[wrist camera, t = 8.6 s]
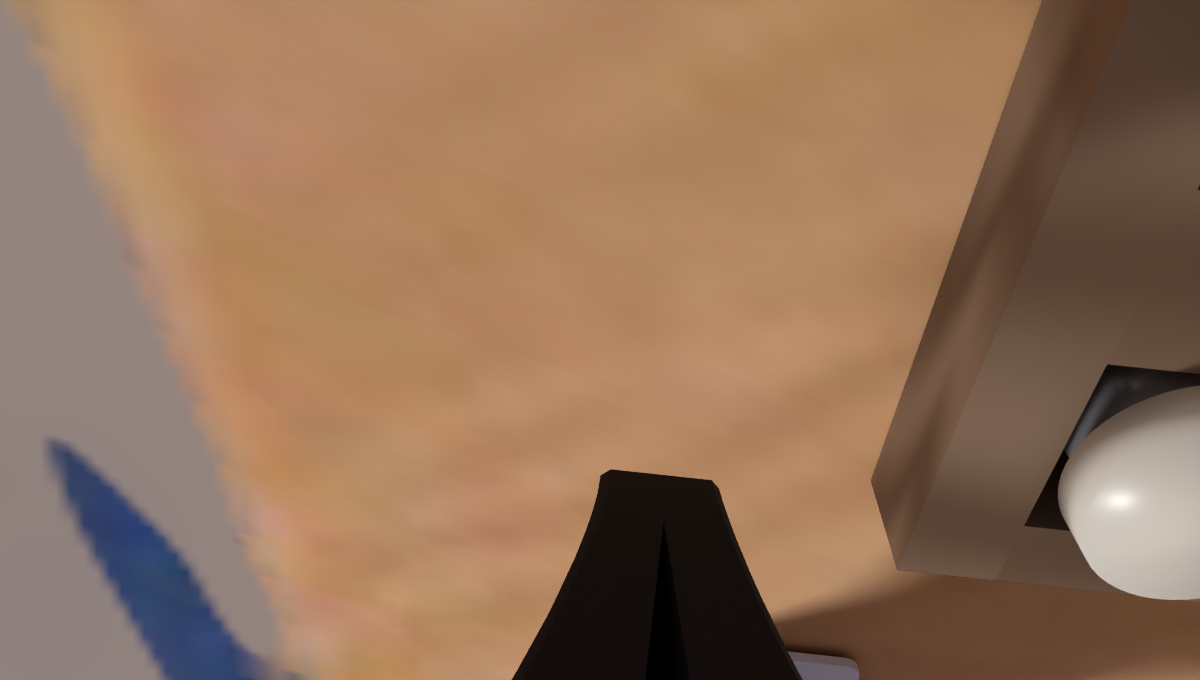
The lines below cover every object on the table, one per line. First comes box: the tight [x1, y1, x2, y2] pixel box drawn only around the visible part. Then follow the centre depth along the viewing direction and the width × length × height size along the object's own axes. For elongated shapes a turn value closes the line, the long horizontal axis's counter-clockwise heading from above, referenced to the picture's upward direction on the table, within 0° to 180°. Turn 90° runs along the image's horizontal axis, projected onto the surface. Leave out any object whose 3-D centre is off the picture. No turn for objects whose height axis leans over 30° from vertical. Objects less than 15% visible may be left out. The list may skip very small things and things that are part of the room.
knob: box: [1058, 364, 1200, 600], centre depth 18 cm, size 5×5×4 cm
